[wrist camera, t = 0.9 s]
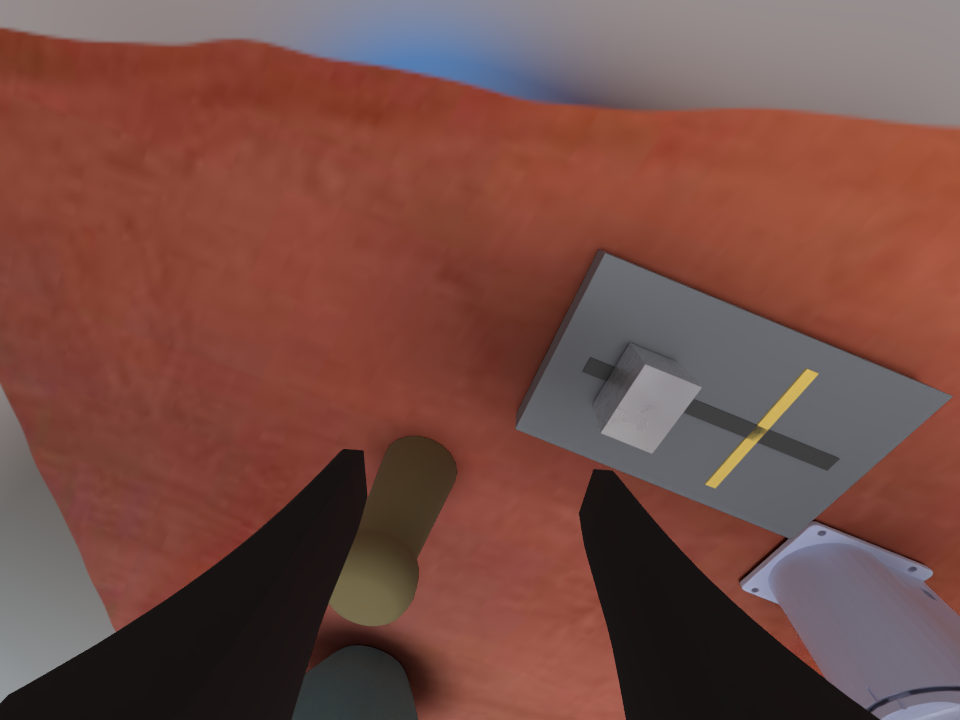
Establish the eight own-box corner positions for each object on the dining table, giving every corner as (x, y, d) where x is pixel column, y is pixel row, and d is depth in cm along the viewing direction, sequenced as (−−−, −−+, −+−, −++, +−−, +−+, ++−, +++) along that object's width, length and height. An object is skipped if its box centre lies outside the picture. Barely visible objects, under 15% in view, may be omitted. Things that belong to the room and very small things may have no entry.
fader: (678, 362, 20) (702, 387, 17) (637, 422, 22) (652, 454, 19) (629, 342, 20) (645, 364, 17) (592, 404, 22) (600, 433, 19)
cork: (458, 440, 27) (412, 579, 17) (456, 501, 29) (415, 653, 19) (381, 431, 27) (294, 559, 17) (386, 490, 30) (311, 633, 20)
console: (915, 379, 20) (955, 397, 19) (772, 515, 25) (792, 540, 24) (598, 249, 20) (605, 253, 18) (516, 413, 25) (515, 429, 23)
